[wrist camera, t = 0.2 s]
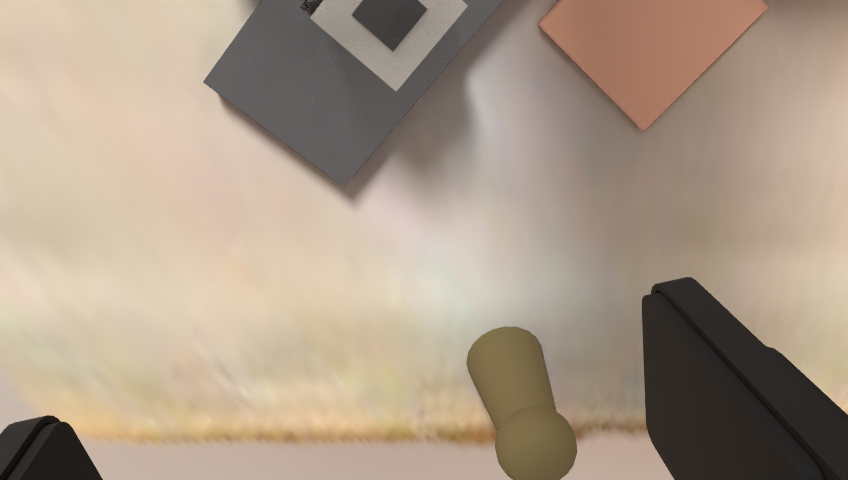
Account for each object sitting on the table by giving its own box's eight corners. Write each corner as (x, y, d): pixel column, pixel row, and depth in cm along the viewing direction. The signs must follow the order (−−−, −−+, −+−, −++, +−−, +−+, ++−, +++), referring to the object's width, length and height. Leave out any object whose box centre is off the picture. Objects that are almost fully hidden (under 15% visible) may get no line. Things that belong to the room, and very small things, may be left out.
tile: (664, -119, 33) (669, -120, 33) (762, 6, 37) (768, 7, 36) (537, 24, 36) (540, 25, 35) (640, 128, 40) (643, 130, 39)
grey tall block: (376, -71, 33) (382, -79, 25) (443, -7, 35) (468, 6, 27) (321, 2, 34) (309, 18, 26) (388, 60, 36) (396, 92, 28)
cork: (513, 312, 45) (556, 413, 35) (557, 360, 47) (608, 467, 37) (451, 357, 46) (475, 467, 36) (496, 401, 49) (531, 515, 39)
